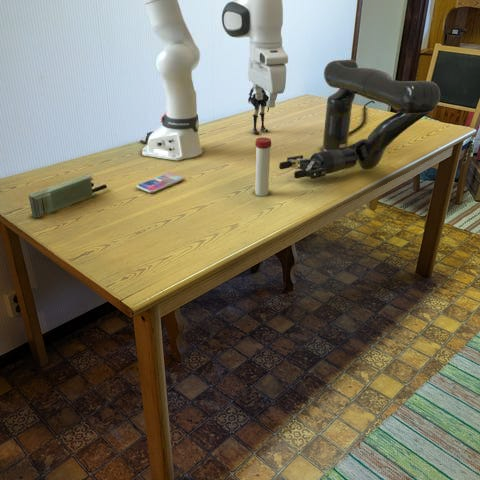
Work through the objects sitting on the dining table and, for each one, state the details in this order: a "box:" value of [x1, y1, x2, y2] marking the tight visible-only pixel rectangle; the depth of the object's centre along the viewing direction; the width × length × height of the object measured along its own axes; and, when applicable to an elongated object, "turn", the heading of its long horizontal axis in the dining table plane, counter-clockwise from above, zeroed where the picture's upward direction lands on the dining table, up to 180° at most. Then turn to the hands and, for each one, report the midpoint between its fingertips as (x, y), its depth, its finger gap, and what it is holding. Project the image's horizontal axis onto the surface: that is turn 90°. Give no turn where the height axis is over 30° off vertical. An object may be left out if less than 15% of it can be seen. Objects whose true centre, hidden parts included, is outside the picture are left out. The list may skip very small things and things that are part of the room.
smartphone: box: [136, 172, 184, 194], centre depth 164 cm, size 7×1×15 cm
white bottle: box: [254, 146, 271, 197], centre depth 155 cm, size 4×4×17 cm
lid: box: [255, 137, 272, 148], centre depth 151 cm, size 5×5×2 cm
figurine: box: [247, 84, 270, 135], centre depth 206 cm, size 15×6×30 cm, turn 132°
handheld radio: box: [28, 173, 108, 219], centre depth 150 cm, size 7×3×25 cm
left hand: (265, 103), depth 146 cm, fingers open, 8 cm apart
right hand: (287, 170), depth 160 cm, fingers open, 8 cm apart
